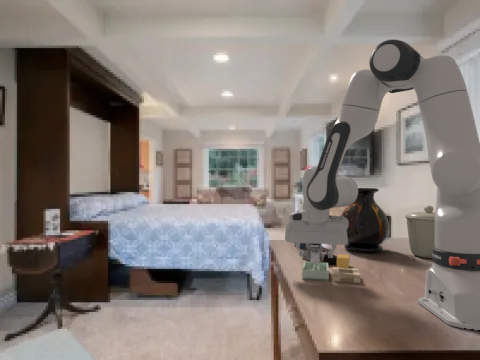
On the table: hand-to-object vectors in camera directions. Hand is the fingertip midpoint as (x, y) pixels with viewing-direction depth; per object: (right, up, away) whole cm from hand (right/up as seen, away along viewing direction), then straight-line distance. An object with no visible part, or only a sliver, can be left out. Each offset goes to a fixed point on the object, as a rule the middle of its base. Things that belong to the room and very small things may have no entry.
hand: (315, 256), depth 116 cm
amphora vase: (+31, -6, +42) cm, 53 cm away
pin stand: (+9, -6, -4) cm, 11 cm away
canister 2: (+54, -6, +30) cm, 62 cm away
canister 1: (+7, -6, +52) cm, 53 cm away
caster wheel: (+6, -6, +18) cm, 20 cm away
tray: (0, -6, 0) cm, 6 cm away
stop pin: (0, -6, 0) cm, 6 cm away
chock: (+13, -6, +11) cm, 18 cm away
